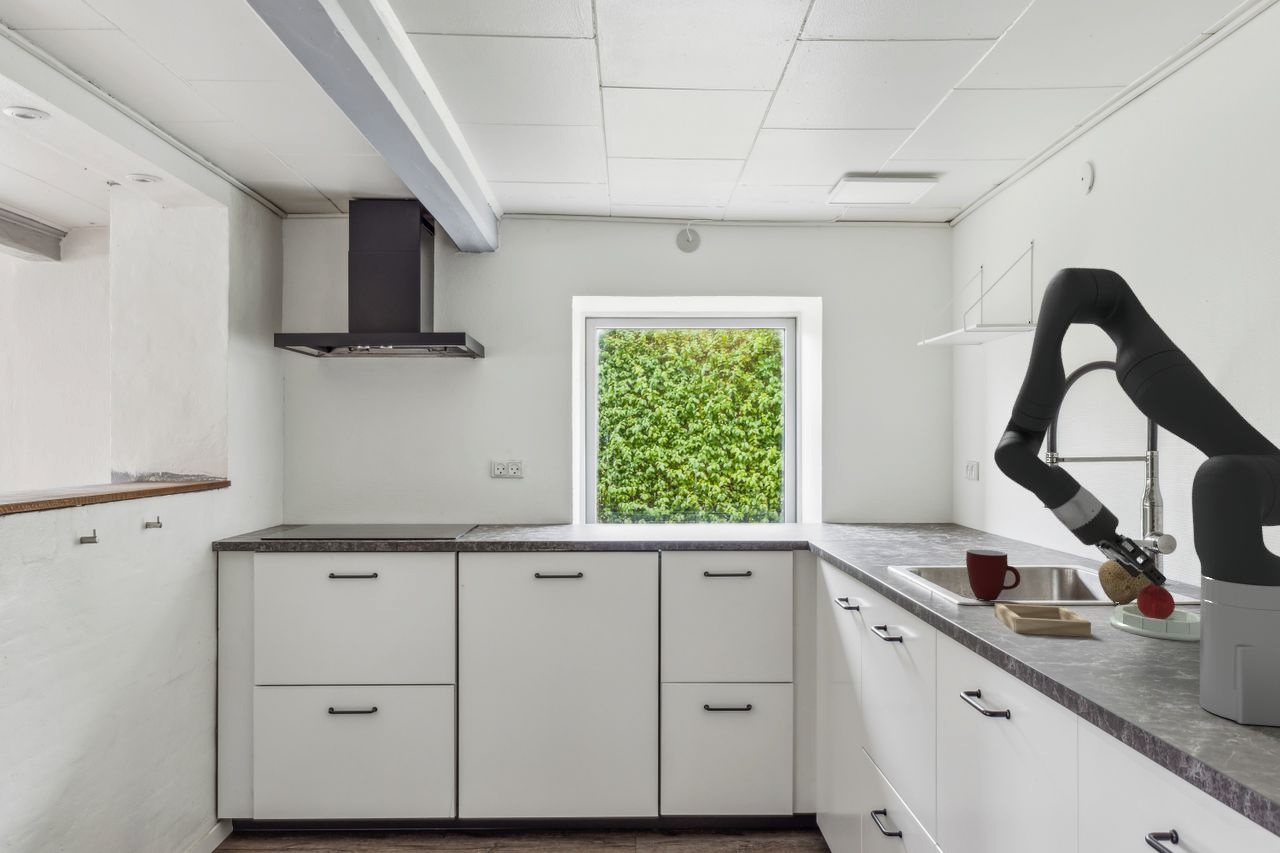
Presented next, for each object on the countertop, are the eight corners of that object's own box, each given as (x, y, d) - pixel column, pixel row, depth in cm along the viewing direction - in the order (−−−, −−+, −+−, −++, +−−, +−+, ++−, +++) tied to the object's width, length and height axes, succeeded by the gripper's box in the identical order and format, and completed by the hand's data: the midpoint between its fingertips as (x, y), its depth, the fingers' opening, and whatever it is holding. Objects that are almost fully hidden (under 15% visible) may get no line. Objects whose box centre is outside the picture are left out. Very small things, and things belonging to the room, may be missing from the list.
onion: (1181, 627, 136) (1180, 583, 136) (1146, 627, 137) (1144, 583, 137) (1165, 619, 141) (1164, 576, 141) (1132, 618, 143) (1130, 576, 142)
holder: (1090, 636, 133) (1090, 622, 133) (1015, 632, 135) (1016, 618, 135) (1062, 619, 145) (1062, 606, 145) (994, 615, 147) (994, 603, 147)
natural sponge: (1140, 602, 161) (1141, 555, 161) (1156, 612, 153) (1157, 562, 153) (1092, 599, 164) (1093, 553, 164) (1106, 608, 155) (1106, 560, 155)
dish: (1228, 642, 130) (1228, 625, 130) (1133, 638, 133) (1134, 620, 133) (1180, 621, 145) (1180, 605, 145) (1096, 617, 147) (1096, 601, 147)
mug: (1018, 598, 164) (1019, 552, 164) (1021, 605, 156) (1021, 557, 156) (965, 593, 168) (966, 548, 168) (965, 600, 161) (966, 553, 161)
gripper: (1116, 504, 134) (1187, 571, 132) (1082, 497, 148) (1146, 558, 146) (1083, 533, 134) (1153, 600, 132) (1053, 523, 148) (1116, 584, 146)
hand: (1149, 578), depth 139 cm, fingers open, 8 cm apart
